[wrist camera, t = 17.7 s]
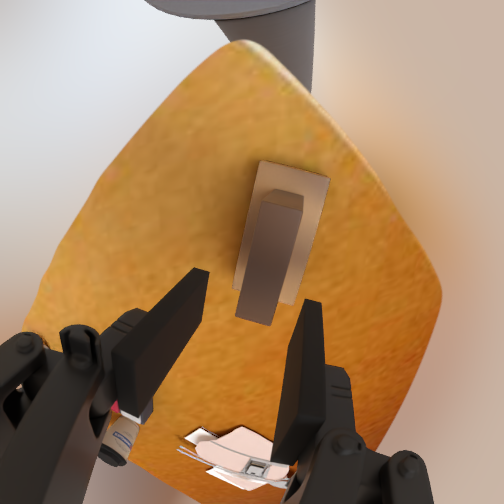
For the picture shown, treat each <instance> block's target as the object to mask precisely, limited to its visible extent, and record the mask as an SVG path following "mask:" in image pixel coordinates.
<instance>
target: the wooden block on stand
mask: <svg viewBox="0 0 504 504" xmlns="http://www.w3.org/2000/svg"><path fill="white" fill-rule="evenodd" d="M329 183H330V178H329V177H327V176H325V175H321V174H318V173H314V172H310V171H307V170H303V169H299V168H295V167H291V166H287V165H283V164H279V163H275V162H271V161H265V160H260V162H259V166H258V171H257V175H256V180H255V184H254V188H253V193H252V197H251V202H250V206H249V211H248V215H247V220H246V225H245V229H244V234H243V238H242V243H241V247H240V252H239V257H238V261H237V266H236V271H235V275H234V280H233V285H232V289H235V290H238V291H240V296H239V300H238V304H237V309H236V313H235V316H236V317H239V318H242V319H246V320H249V321H253V322H256V323H260V324H263V325H267V326H270V325H271V323H272V320H273V316H274V313H275V310H276V307H277V303H278V302H281V303H285V304H289V305H292V306H293V305H294V302H295V299H296V296H297V293H298V290H299V287H300V284H301V281H302V277H303V274H304V271H305V268H306V264H307V261H308V258H309V255H310V251H311V248H312V244H313V241H314V238H315V234H316V231H317V227H318V224H319V220H320V217H321V213H322V209H323V206H324V202H325V198H326V195H327V191H328V187H329Z"/></svg>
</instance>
